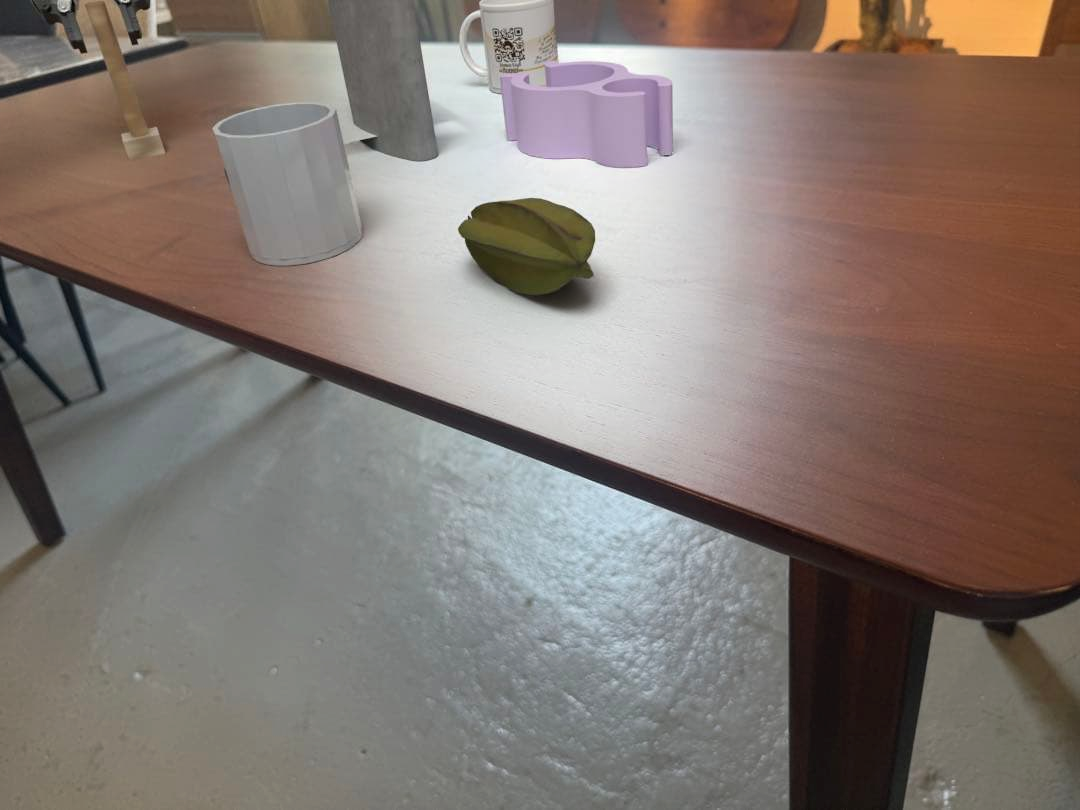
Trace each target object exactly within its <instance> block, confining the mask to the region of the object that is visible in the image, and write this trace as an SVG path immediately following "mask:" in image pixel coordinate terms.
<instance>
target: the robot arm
mask: <svg viewBox="0 0 1080 810" xmlns="http://www.w3.org/2000/svg"><path fill="white" fill-rule="evenodd" d="M29 2H30V3H31V4H32V6H33V7H34V9H35V10H36V12H37V13H38V14H39V15H40V17H41V19H42V20H43V22H44V23H45V24H46V25H50V26H52V25H55V24H56V23H58V24H61V25H63V29H64V32H65V35H66V38H67V40H68V42H69V45H70V47H71V48H72V49H73V50H78V51H79V53H80V55H82V54H87V53H88V49H87V46H86V43H85V40H84V38H83V34H82V31H81V28H80V25H79V22H78V20H77V16H78V15H77V14H78V11H79V10H80V0H57V3H50V2H49V0H29ZM110 2H111V3H113V5H116V6H117V8H118V9H119V11H120V13H121V17H122V20H123V23H124V26H125V28H126V32H127V35H128V38H129V41H130V43H131V46H138V45H139V41H138V40H141V39H142V38H143V32H142V29H141V26H140V23H139V20H138V16H137V13H138V12H139V11H140V10H142V11H148V10H149V9H151V0H110Z"/></svg>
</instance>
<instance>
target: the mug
mask: <svg viewBox="0 0 1080 810" xmlns="http://www.w3.org/2000/svg"><path fill="white" fill-rule="evenodd" d="M554 2H555V1H554V0H480V1H479V2H478V8H479V9H478V10H475V11H473V12H471V13H470V14H469V15H467V16H466V18H464V20H463V22H462V24H461V27H460V30H459V36H458V37H459V38H458V39H459V40H458V42H459V49H460V53H461V56H462V59H463V62H464V63H465V64H466V66H467V67H468V69H469V70H470V71H472V73H474V74H475V75H477V76H479V77H482V78H487V80H488V87H489V90H490V91H491V92H493V93H496V94H501V95H502V92H501V83H500V75H502V74H514V73H527V74H529V82H530V85H533V86H539V87H546V76H545V64H544V62H547V61H556V62H557V63H559V51H558V38H557V27H556V14H555V3H554ZM479 18H480V24H481V32H482V40H483V48H484V56H485V65H486V68H485V67H482V66H480V65H479V64H477V62H476V61H475V60H474V59H473V57H472V56H471V54H470V51H469V48H468V40H467V39H468V31H469V28H470V26H471V24H472V22H473V21H474V20H476V19H479Z"/></svg>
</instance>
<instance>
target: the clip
mask: <svg viewBox="0 0 1080 810" xmlns="http://www.w3.org/2000/svg"><path fill="white" fill-rule="evenodd" d="M544 64H545V76H546V87H539V86H533V85H530V82H529V74H527V73H514V74H502V75H500V83H501V92H502V94H501V100H502V101H501V102H502V107H503V109H502V111H503V119H504V126H505V135H506V140H507V141H516V142H517V143H516V145H517V148H518V150H519V151H520V152H521V153H523V154H525V155H528V156H530V157H536V158H541V159H553V160H554V159H559V160H560V159H561V160H562V159H587V160H591V161H593V162H595V163H597V164H599V165H602V166H606V167H610V168H622V169H623V168H627V169H628V168H640V167H646V166H647V165H648V146H650V147H649V148H652V147H655V148H657V149H658V150H659V151H658V150H657V149H656V150H657V151H658V156H660V155H670V154H672V152H673V153H674V122H673V121H674V117H673V113H674V112H673V110H674V109H673V108H674V107H673V100H674V99H673V98H674V97H673V96H674V95H673V80H671V78H668V77H665V76H662V75H655V74H639V73H638V74H637V73H632V72H630V71H629V69H628V68H627V67H626V66H624V65H622V64H621V63H620V64H619V63H616V62H615V63H614V62H609V61H597V60H592V61H591V60H590V61H589V60H586V61H583V60H582V61H569V62H568V61H567V62H558V63H557V62H556V61H547V62H544ZM655 148H654V149H655ZM672 155H673V154H672ZM670 156H671V155H670Z"/></svg>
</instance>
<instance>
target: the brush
mask: <svg viewBox="0 0 1080 810" xmlns="http://www.w3.org/2000/svg"><path fill="white" fill-rule="evenodd" d="M84 7H85V9H86V13H87V15H88V18H89V22H90V24H91V26H92V30H93V32H94V35H95V38H96V41H97V44H98V47H99V49H100V52H101V55H102V58H103V61H104V63H105V67H106V69H107V72H108V75H109V78H110V80H111V83H112V86H113V89H114V92H115V95H116V97H117V100H118V103H119V106H120V108H121V113H122V114H123V117H124V120H125V123H126V126H127V128H128V132H124V133H121V140H122V144H123V146H124V149H125V152H126V155H127V158H128V160H129V161H135V160H140V159H145V158H150V157H155V156H160V155H164V154H166V149H165V147H164V144H163V141H162V138H161V135H160V133H159V129H158V127H157V126H154V127H150V128H149V127H148V124H147V123H146V119H145V117H144V114H143V111H142V107H141V104H140V101H139V98H138V96H137V93H136V89H135V87H134V84H133V81H132V78H131V75H130V72H129V69H128V66H127V63H126V60H125V58H124V55H123V52H122V49H121V46H120V43H119V40H118V38H117V35H116V31H115V28H114V26H113V22H112V20H111V16H110V13H109V11H108V8H107V5H106V2H105V1H103V0H99V1H91V2H87V3H85V4H84Z"/></svg>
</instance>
